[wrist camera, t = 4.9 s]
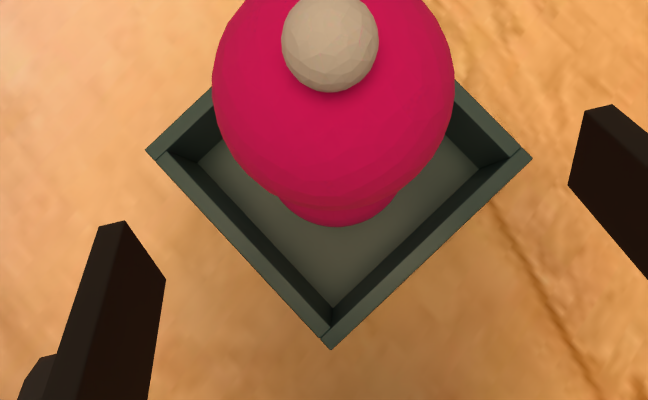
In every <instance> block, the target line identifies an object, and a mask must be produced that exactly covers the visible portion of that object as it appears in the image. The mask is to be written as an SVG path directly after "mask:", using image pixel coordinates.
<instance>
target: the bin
mask: <svg viewBox="0 0 648 400" xmlns="http://www.w3.org/2000/svg"><path fill="white" fill-rule="evenodd" d="M145 151H146V152H147V153H148V154H149V155H150V156H151V157H152V159H153V160H155V161H156V163H157V164H158V165H159V166H160V167H161V168H162V169H163V170H164V172H165V173H166V174H167V175H168V176H169V177H170V178H171V179H172V180H173V181H174V182H175V183H176V185H177V186H178V187H179V188H180V189H181V190H182V191H183V192H184V193H185V194H186V195H187V196H188V197H189V199H190V200H191V201H192V202H193V203H194V204H195V205H196V206H197V207H198V208H199V209H200V210H201V211H202V213H203V214H204V215H205V216H206V217H207V218H208V219H209V220H210V221H211V222H212V223H213V224H214V226H215V227H216V228H217V229H218V230H219V231H220V232H221V233H222V234H223V235H224V236H225V237H226V238H227V240H228V241H229V242H230V243H231V244H232V245H233V246H234V247H235V248H236V249H237V250H238V251H239V253H240V254H241V255H242V256H243V257H244V258H245V259H246V260H247V261H248V262H249V263H250V264H251V265H252V267H253V268H254V269H255V270H256V271H257V272H258V273H259V274H260V275H261V276H262V277H263V278H264V279H265V281H266V282H267V283H268V284H269V285H270V286H271V287H272V288H273V289H274V290H275V291H276V292H277V294H278V295H279V296H280V297H281V298H282V299H283V300H284V301H285V302H286V303H287V304H288V305H289V306H290V308H291V309H292V310H293V311H294V312H295V313H296V314H297V315H298V316H299V317H300V318H301V319H302V321H303V322H304V323H305V324H306V325H307V326H308V327H309V328H310V329H311V330H312V331H313V332H314V333H315V335H316V336H317V337H318V338H320V340H321V341H322V342H323V343H324V344H325V345H326V346H327V347H328V349H329V350H332V349H333V348H334V347H336V346H337V345H338V344H339V343H340V342H341V341H342V340H343V339H344V338H345V337H346V336H347V335H348V334H349V333H350V332H351V331H352V330H353V329H354V328H355V327H357V326H358V325H359V324H360V323H361V322H362V321H363V320H364V319H365V318H366V317H367V316H368V315H369V314H370V313H371V312H372V311H373V310H374V309H375V308H377V307H378V306H379V305H380V304H381V303H382V302H383V301H384V300H385V299H386V298H387V297H388V296H389V295H390V294H391V293H392V292H393V291H394V290H395V289H396V288H398V287H399V286H400V285H401V284H402V283H403V282H404V281H405V280H406V279H407V278H408V277H409V276H410V275H411V274H412V273H413V272H414V271H415V270H416V269H418V268H419V267H420V266H421V265H422V264H423V263H424V262H425V261H426V260H427V259H428V258H429V257H430V256H431V255H432V254H433V253H434V252H435V251H436V250H438V249H439V248H440V247H441V246H442V245H443V244H444V243H445V242H446V241H447V240H448V239H449V238H450V237H451V236H452V235H453V234H454V233H455V232H456V231H457V230H459V229H460V228H461V227H462V226H463V225H464V224H465V223H466V222H467V221H468V220H469V219H470V218H471V217H472V216H473V215H474V214H475V213H476V212H477V211H479V210H480V209H481V208H482V207H483V206H484V205H485V204H486V203H487V202H488V201H489V200H490V199H491V198H492V197H493V196H494V195H495V194H496V193H497V192H498V191H500V190H501V189H502V188H503V187H504V186H505V185H506V184H507V183H508V182H509V181H510V180H511V179H512V178H513V177H514V176H515V175H516V174H517V173H518V172H520V171H521V170H522V169H523V168H524V167H525V166H526V165H527V164H528V163H529V162H530V161H531V160H532V159H533V158H532V157H531V156H530V155H529V154H528V153H527V152H526V151H525V150H524V149H523V148H522V147H521V146H520V145H519V144H518V143H517V141H516V140H515V139H514V138H513V137H512V136H511V135H510V134H509V133H508V132H507V131H506V130H505V129H504V128H503V127H502V126H501V125H500V124H499V123H498V122H497V121H496V120H495V119H494V118H493V117H492V116H491V115H490V114H489V113H488V112H487V111H486V110H485V109H484V108H483V107H482V106H481V105H480V104H479V103H478V102H477V101H476V100H475V99H474V98H473V97H472V96H471V95H470V94H469V93H468V92H467V91H466V90H465V89H464V88H463V87H462V86H461V85H460V84H459V83H458V82H457V81H456V80H455V97H454V103H453V108H452V114H451V118H450V121H449V124H448V127H447V129H446V132H445V135H444V138H443V140H442V142H441V144H440V145H439V147H438V149H437V151H436V152H435V154H434V156H433V157H432V159H431V160H430V161H429V162H428V163H427V165H426V166H425V167H424V168H423V169H422V170H421V172H420V173H419V174H418V175H417V176H416V177H415V178H414V179H413V180H411V181H410V182H409V183H408V184H407V185H405V186H404V187H403V188H402V189H401V190H399V191H398V192H397V194H396V195H395V197H394V198H393V199H392V201H391V202H390V203H389V204H388V205H387V206H386V207H385V208H384V209H383V210H382V211H381V212H379V213H378V214H377V215H375V216H374V217H372V218H370V219H368V220H366V221H364V222H362V223H358V224H355V225H352V226H345V227H327V226H321V225H317V224H314V223H311V222H308V221H306V220H304V219H303V218H301V217H299V216H297V215H296V214H295V213H293V212H292V211H291V210H289V209H288V208H287V207H286V206H285V205H284V204H283V202H282V201H281V200H280V199H279V197H278V196H275V195H273V194H271V193H269V192H268V191H267V190H265V189H264V188H263V187H262V186H260V185H259V184H258V183H257V182H256V181H255V180H253V179H252V178H251V177H250V176H249V175H248V174H247V173H246V172H245V171H244V170H243V169H242V167H241V166H240V165H239V164H238V163H237V161H236V160H235V159H234V158H233V156H232V154H231V152H230V150H229V148H228V147H227V145H226V143H225V141H224V139H223V137H222V134H221V132H220V129H219V127H218V124H217V120H216V115H215V110H214V105H213V100H212V87H211V88H210V89H209V90H208V91H207V92H205V93H204V94H203V95H202V96H201V97H200V98H199V99H198V100H197V101H196V102H195V103H194V104H193V105H192V106H191V107H190V108H189V109H187V110H186V111H185V112H184V113H183V114H182V115H181V116H180V117H179V118H178V119H177V120H176V121H175V122H174V123H173V124H172V125H171V126H169V127H168V128H167V129H166V130H165V131H164V132H163V133H162V134H161V135H160V136H159V137H158V138H157V139H156V140H155V141H154V142H153V143H152V144H150V145H149V146H148V147H147V148H146V149H145Z"/></svg>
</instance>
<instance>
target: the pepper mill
mask: <svg viewBox="0 0 648 400" xmlns="http://www.w3.org/2000/svg"><path fill="white" fill-rule="evenodd" d="M454 97H455V77H454V68H453V63H452V58H451V54H450V49H449V46H448V43H447V41H446V38H445V36H444V34H443V32H442V30H441V28H440V26H439V24H438V22H437V20H436V18H435V16H434V15H433V14H432V12H431V11H430V10H429V9H428V7H427V6H426V5H425V3H424V2H423V1H422V0H245V2H244V3H243V4H242V6H241V7H240V8H239V9H238V11H237V12H236V13H235V15H234V16H233V17H232V18H231V20H230V21H229V22H228V24H227V26H226V28H225V31H224V33H223V35H222V37H221V40H220V42H219V46H218V49H217V52H216V57H215V62H214V67H213V72H212V100H213V105H214V110H215V115H216V120H217V124H218V127H219V129H220V132H221V134H222V137H223V139H224V141H225V143H226V145H227V147H228V148H229V150H230V152H231V154H232V156H233V158H234V159H235V160H236V161H237V163H238V164H239V165H240V166H241V167H242V169H243V170H244V171H245V172H246V173H247V174H248V175H249V176H250V177H251V178H252V179H253V180H255V181H256V182H257V183H258V184H259V185H260V186H262V187H263V188H264V189H265V190H267V191H268V192H269V193H271V194H273V195H275V196H278V197H279V199H280V200H281V201H282V202H283V204H284V205H285V206H286V207H287V208H288V209H289V210H291V211H292V212H293V213H295V214H296V215H297V216H299V217H301V218H303V219H304V220H306V221H308V222H311V223H314V224H317V225H321V226H327V227H345V226H352V225H355V224H358V223H362V222H364V221H366V220H368V219H370V218H372V217H374V216H375V215H377V214H378V213H379V212H381V211H382V210H383V209H384V208H385V207H386V206H387V205H388V204H389V203H390V202H391V201H392V199H393V198H394V197H395V195H396V194H397V192H398V191H399V190H401V189H402V188H403V187H404V186H405V185H407V184H408V183H409V182H410V181H411V180H413V179H414V178H415V177H416V176H417V175H418V174H419V173H420V172H421V170H422V169H423V168H424V167H425V166H426V165H427V163H428V162H429V161H430V160H431V159H432V157H433V156H434V154H435V152H436V151H437V149H438V147H439V145H440V144H441V142H442V140H443V138H444V135H445V132H446V129H447V127H448V124H449V121H450V118H451V114H452V108H453V103H454Z"/></svg>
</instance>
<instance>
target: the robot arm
mask: <svg viewBox="0 0 648 400" xmlns="http://www.w3.org/2000/svg"><path fill="white" fill-rule="evenodd" d="M568 186H569V188H570V189H571V190H572V191H573V192H574V193H575V195H576V196H577V197H578V198H579V199H580V201H581V202H582V203H583V204H584V205H585V206H586V208H587V209H588V210H589V211H590V212H591V214H592V215H593V216H594V217H595V218H596V219H597V221H598V222H599V223H600V224H601V225H602V227H603V228H604V229H605V230H606V231H607V232H608V234H609V235H610V236H611V237H612V238H613V239H614V241H615V242H616V243H617V244H618V245H619V247H620V248H621V249H622V250H623V251H624V252H625V254H626V255H627V256H628V257H629V258H630V260H631V261H632V262H633V263H634V264H635V265H636V267H637V268H638V269H639V270H640V271H641V273H642V274H643V275H644V276H645V277H646V278H647V280H648V133H647V132H646V131H644V130H643V129H642V128H641V127H639V126H638V125H637V124H636V123H635V122H633V121H632V120H631V119H630V118H629V117H627V116H626V115H625V114H624V113H622V112H621V111H620V110H619V109H618V108H616V107H615V106H614V105H613V104H611V105H607V106H602V107H598V108H594V109H590V110H586V111H585V112H584V116H583V120H582V124H581V129H580V133H579V137H578V142H577V146H576V150H575V155H574V159H573V163H572V168H571V172H570V176H569V181H568ZM165 283H166V278H165V277H164V276H163V274H162V273H161V271H160V270H159V268H158V267H157V266H156V264H155V263H154V261H153V260H152V258H151V257H150V256H149V254H148V253H147V251H146V250H145V248H144V247H143V246H142V244H141V243H140V241H139V240H138V238H137V237H136V236H135V234H134V233H133V231H132V230H131V228H130V227H129V225H128V224H127V223H126V221H125V220H124V221H120V222H116V223H112V224H108V225H103V226H99V228H98V231H97V234H96V237H95V240H94V243H93V246H92V249H91V252H90V255H89V258H88V261H87V264H86V267H85V270H84V273H83V276H82V279H81V282H80V285H79V288H78V291H77V294H76V297H75V300H74V303H73V306H72V309H71V312H70V315H69V318H68V321H67V324H66V327H65V330H64V333H63V336H62V339H61V342H60V345H59V348H58V351H57V354H54V355H49V356H45V357H41V358H40V359H39V360H38V362H37V363H36V364H35V366H34V367H33V369H32V370H31V371H30V373H29V374H28V376H27V377H26V378H25V380H24V382H23V385H22V388H21V391H20V393H19V396H18V399H17V400H147V399H148V392H149V386H150V379H151V373H152V366H153V360H154V354H155V347H156V341H157V334H158V328H159V322H160V315H161V309H162V302H163V296H164V289H165Z"/></svg>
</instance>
